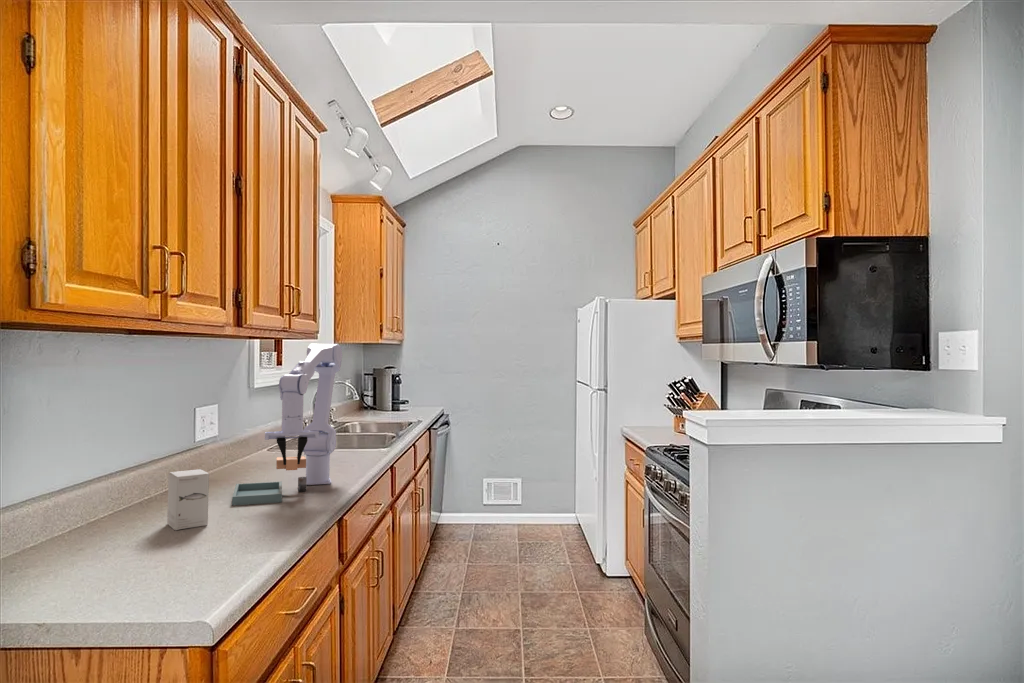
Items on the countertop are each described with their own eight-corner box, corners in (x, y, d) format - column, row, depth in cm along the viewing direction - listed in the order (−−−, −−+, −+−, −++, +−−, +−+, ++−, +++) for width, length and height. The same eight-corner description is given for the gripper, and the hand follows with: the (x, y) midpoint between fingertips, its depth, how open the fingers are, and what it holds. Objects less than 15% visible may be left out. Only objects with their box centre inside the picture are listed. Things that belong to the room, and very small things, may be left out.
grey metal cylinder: (297, 490, 190) (297, 476, 190) (306, 489, 191) (306, 476, 191) (297, 492, 188) (298, 478, 188) (306, 491, 188) (306, 478, 188)
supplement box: (174, 531, 147) (175, 476, 148) (166, 524, 153) (167, 471, 153) (208, 525, 152) (209, 472, 152) (199, 519, 158) (200, 468, 158)
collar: (276, 465, 189) (276, 455, 189) (304, 464, 192) (304, 454, 192) (276, 470, 178) (276, 460, 178) (306, 469, 181) (306, 458, 181)
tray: (236, 491, 187) (236, 483, 187) (281, 489, 191) (281, 481, 191) (232, 505, 171) (232, 496, 171) (281, 502, 176) (282, 493, 176)
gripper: (265, 418, 175) (264, 467, 175) (319, 417, 180) (319, 465, 180) (265, 415, 182) (264, 463, 182) (318, 414, 187) (317, 460, 187)
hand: (291, 464), depth 181 cm, fingers closed on collar, 3 cm apart
